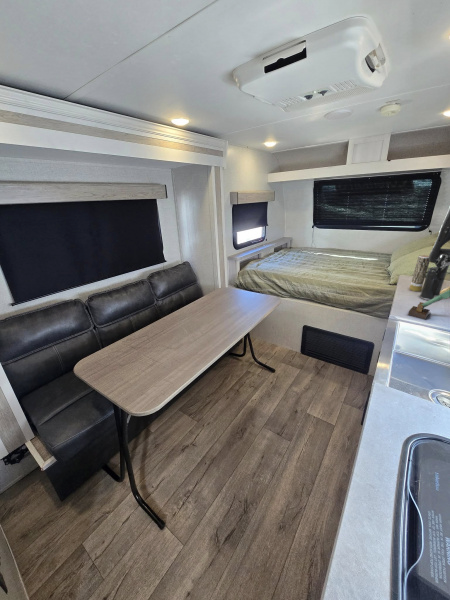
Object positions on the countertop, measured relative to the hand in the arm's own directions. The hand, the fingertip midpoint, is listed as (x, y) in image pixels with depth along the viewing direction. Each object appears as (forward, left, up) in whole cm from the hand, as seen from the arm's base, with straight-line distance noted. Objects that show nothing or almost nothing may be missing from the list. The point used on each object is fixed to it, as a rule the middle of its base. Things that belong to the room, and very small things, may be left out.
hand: (446, 274), depth 120 cm
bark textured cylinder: (-53, -18, -28) cm, 62 cm away
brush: (-8, -7, -23) cm, 25 cm away
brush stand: (-8, -7, -28) cm, 29 cm away
